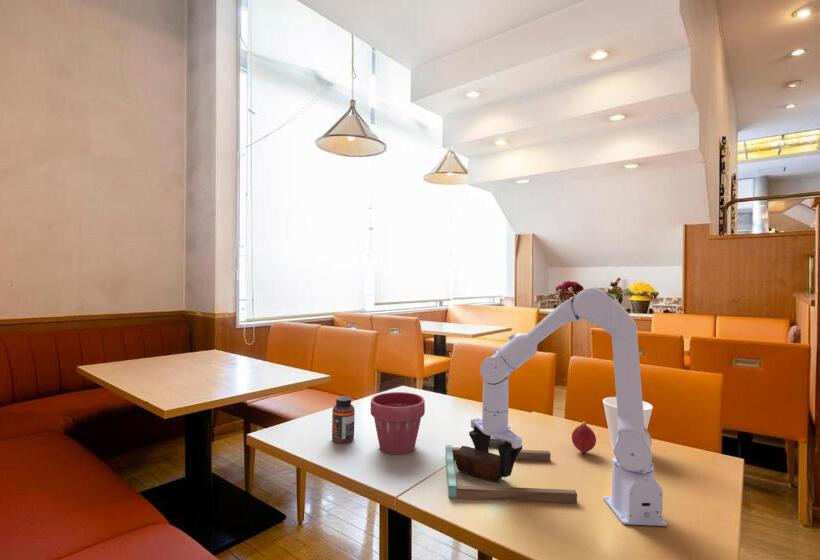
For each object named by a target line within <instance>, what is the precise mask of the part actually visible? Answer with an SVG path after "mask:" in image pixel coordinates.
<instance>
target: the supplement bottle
mask: <svg viewBox="0 0 820 560" xmlns="http://www.w3.org/2000/svg"><path fill="white" fill-rule="evenodd" d="M335 399H336V400H335V403H336V404H335V405H334V406H333V407H332V413H331V414H332V415H331V418H332V421H331V424H332V425H331V439H332V441H333V442H335V443H337V444H345V443H346V444H347V443H350V442H352V441H353V440H354V438H355V413H356V412H355V406H354V405H353V404H352V398H351V397H350V396H345V395H343V396H338V397H336V398H335Z"/></svg>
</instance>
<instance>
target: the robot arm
mask: <svg viewBox="0 0 820 560" xmlns="http://www.w3.org/2000/svg"><path fill="white" fill-rule="evenodd" d="M581 319H582V320H584V321H586V322H589V323H592V324H595V325H597V326H598V327H600V328H601V329H602V330H604V332H606V333H608V334H609V335H610V337H611V345H612V355H613V356H612V357H613V360H612V361H613V372H614V381H615V382H614V385H615V397H616V399H617V412H618V432H617V441H616V444H615V447H614V450H613V454H614V455H613V456H612V465H611V466H612V467H611V468H612V469H611V495H604V496H603V500H604V501H605V502H606V503H607V505H608V506H609V508H610V509H611V510H612V511H613V513H614V514H615V515H616V517H617V518H618V519H619V522H621V523H622V524H624V525H635V526H636V525H637V526H638V525H639V526H657V527H666V526H668V523H667V521H666V520H665V519H664V518H663V496H664V494H663V493H664V492H663V489H662V487H661V486H660V484H659V482H658V481H657V479H656V477H655V464H654V462H652V461H653V460H652V459H653V455H652V454H653V453H652V443H653V442H652V436H651V434H650V433H649V431H648V429H647V430H646V427H645V421H644V414H643V401H644V400H643V392H642V380H641V379H642V377H641V366H640V365H641V364H640V353H639V339H638V328H637V323H636V321H635V320H634V318H633V317H632V316H631V315H630V314H629V313H628V311H627V310H626V309H625V308H624V307H623V306H622V304H621V303H620V302H619V300H618V299H617V298H616V297H615V296H614V295H613V294H611V293H609V292H608V291H606V290H604V289H602V288H599V287H590V288H584V289H583V290H580V291H579V292H578V293H576V295H574V296H572V297H570V298H568V299H566V300H565V301H564V302H562V303H560V304H559V305H557V306H556V307H555V308H554V309H553V310H552V311H550V312H549V313H548V314H547V315H546V316H545V317H544V318H543V319H542V320H541V321H539V322H538V323H537V324H536V325H535V326H534V327H533V328H531V329H530V330H529V331H528V332H527V333H525V332H517V333H516V334H515V333H512V334H510V335H509V336H508V341H506V343H504V344H503V345H502V346H501V347H500V348H495V349H494V350H493V351H492V352H493V355H491V356H487V357H485V358H484V359H483V361H482V362H481V364H480V366H479V374H480V376H481V378H482V379H483V381H482V384H483V385H482V416H481V419H480V418H478V417H477V418H472V419H470V428H471V429H473V430H470V431H469V432H468V434H469V437H470V439H471V441H472V443H473V446H474V448H475V449H478V450H481V451H485V452H488V451H489V447H490V446H489V442H490V438H491V437H495V438H497V439H499V440H501V441H503V442H504V444H501V445H498V446H497V447H496V449H497V451H498V455H499V456H500V460H501V474H502V478H507V477H511V476H512V473H513V469H514V465H515V463H516V461H517V460H516V458H517V456H518V454H519V453H520V451H521V450H523V445H522V441H523V438H522V437H520V436H518V435H517V434H516V433H515V432H513V431H512V430H511V426H510V425H509V395H510V394H509V391H510V389H509V377H510V376H511V375H512V372H515V371H516V370H517V369H519V368H520V367H521V366H522V365H524V364H525V363H526V362H528V361H529V360H530V359H531V358H532V357H533V356H535V355H536V354H537V349H538V344H539V343H541V342H542V341H543V340H544V339H546V338H547V337H548V336H550V335H551V334H552V333H554V332H555V331H557V330H558V329H559V328H560V327H562V326H563V325H565V323H573V322H577V321H579V320H581Z"/></svg>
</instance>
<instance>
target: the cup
mask: <svg viewBox="0 0 820 560" xmlns="http://www.w3.org/2000/svg"><path fill="white" fill-rule="evenodd" d="M642 401H643V414H644V421H645V427H646V430H647V431H648V426H649V423H650V420H651V417H652V416H651V415H652V412H653V409H654V407H653V404H651V403H649V402H647V401H644V400H642ZM602 403H603V408H604V414H605V419H606V423H607V424H606V425H607V430H608V435H609V440H610V445H611V448H612V451H614V447H615V444H616V441H617V432H618V412H617V399H616V396H608V397H605V398H603V399H602Z"/></svg>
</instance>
